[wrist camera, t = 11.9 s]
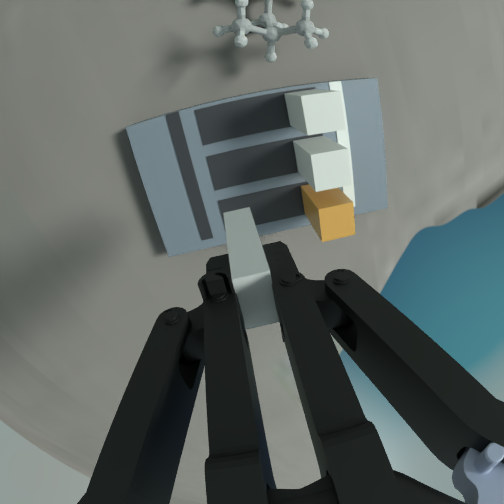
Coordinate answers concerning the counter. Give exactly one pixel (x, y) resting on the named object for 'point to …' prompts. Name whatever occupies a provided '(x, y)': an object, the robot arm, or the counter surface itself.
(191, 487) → the counter surface
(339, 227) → the toggle
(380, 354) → the robot arm
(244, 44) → the molecular model
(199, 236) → the breaker panel
